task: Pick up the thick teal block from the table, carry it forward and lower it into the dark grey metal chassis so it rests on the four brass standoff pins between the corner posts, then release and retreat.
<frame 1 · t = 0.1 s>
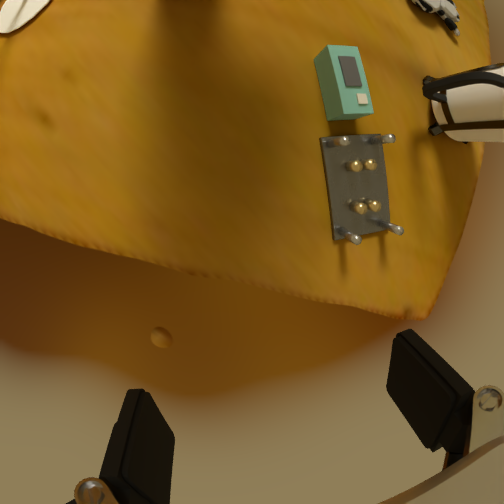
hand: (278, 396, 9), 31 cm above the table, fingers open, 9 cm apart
chassis: (357, 185, 39), on the table
teal block: (334, 88, 35), on the table
coffee press: (440, 111, 37), on the table
robot toy: (427, 4, 30), on the table
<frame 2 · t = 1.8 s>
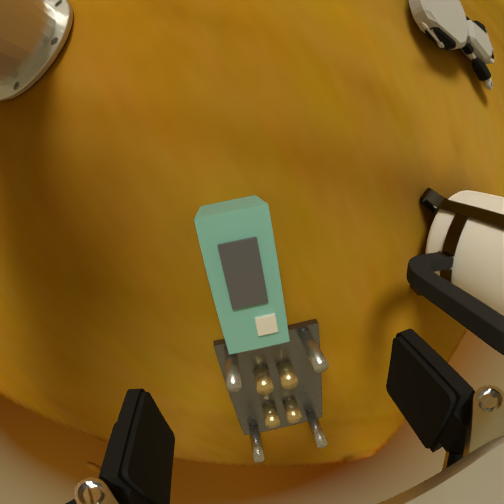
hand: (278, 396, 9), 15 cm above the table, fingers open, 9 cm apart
chassis: (275, 384, 28), on the table
teal block: (239, 258, 24), on the table
coffee press: (440, 243, 26), on the table
robot toy: (444, 31, 19), on the table
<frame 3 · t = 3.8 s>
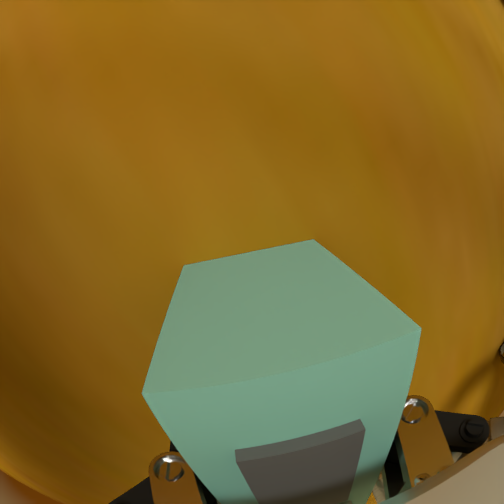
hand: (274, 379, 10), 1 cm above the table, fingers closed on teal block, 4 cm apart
teal block: (270, 366, 11), on the table, touching gripper
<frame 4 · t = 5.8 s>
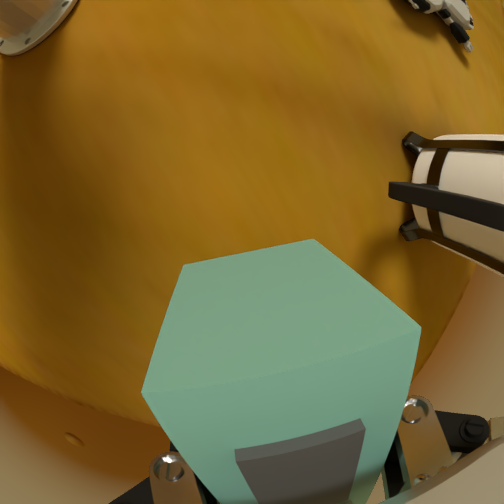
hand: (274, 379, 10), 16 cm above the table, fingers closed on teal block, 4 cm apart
teal block: (270, 366, 11), point 15 cm above the table, touching gripper
coffee press: (427, 190, 26), on the table
robot toy: (422, 1, 19), on the table
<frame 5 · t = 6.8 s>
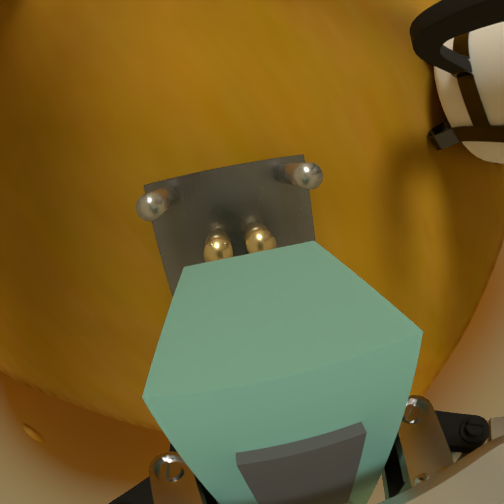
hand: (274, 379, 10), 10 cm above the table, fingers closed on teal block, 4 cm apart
chassis: (244, 277, 19), on the table
teal block: (271, 367, 11), point 9 cm above the table, touching gripper
coffee press: (452, 98, 17), on the table
when the fingers open (5 cm above the table, at t = 7.9 s): teal block stays where it is, resting on chassis.
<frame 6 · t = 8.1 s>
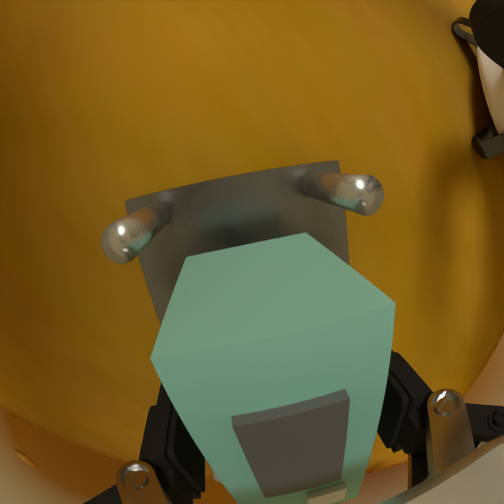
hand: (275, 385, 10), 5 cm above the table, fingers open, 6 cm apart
chassis: (258, 318, 15), on the table
teal block: (267, 353, 12), point 3 cm above the table, touching chassis
coffee press: (492, 99, 13), on the table
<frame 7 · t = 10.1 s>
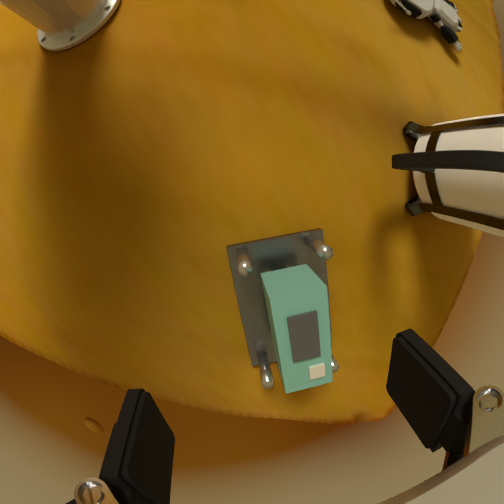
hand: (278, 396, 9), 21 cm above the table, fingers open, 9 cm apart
chassis: (284, 301, 31), on the table
teal block: (290, 314, 28), point 3 cm above the table, touching chassis
coffee press: (428, 173, 29), on the table
robot toy: (416, 8, 23), on the table
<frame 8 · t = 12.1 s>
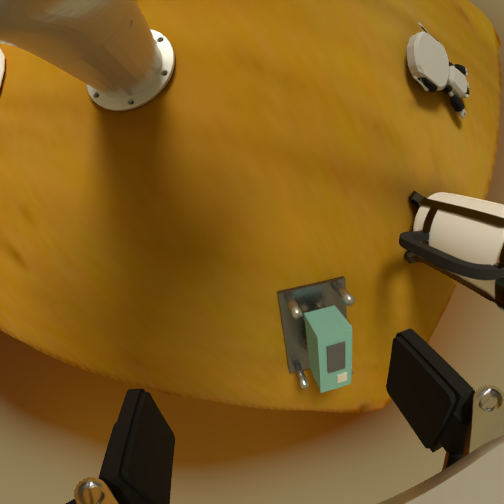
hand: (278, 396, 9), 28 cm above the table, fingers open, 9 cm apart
chassis: (315, 327, 42), on the table
teal block: (321, 338, 38), point 3 cm above the table, touching chassis
coffee press: (424, 228, 39), on the table
robot toy: (432, 74, 32), on the table
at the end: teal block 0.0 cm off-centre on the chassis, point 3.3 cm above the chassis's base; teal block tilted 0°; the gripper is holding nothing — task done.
